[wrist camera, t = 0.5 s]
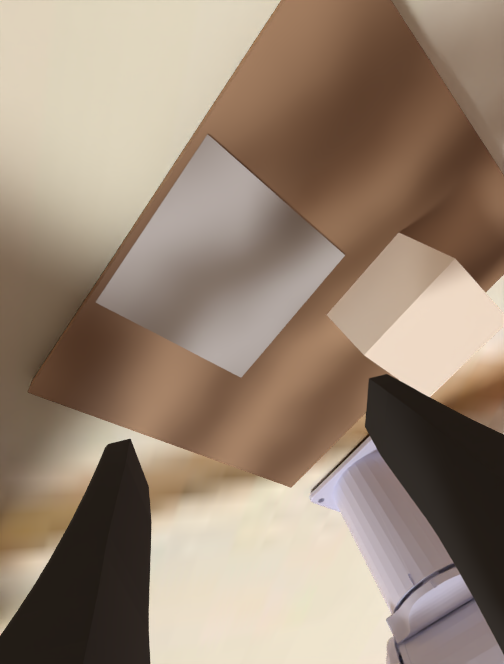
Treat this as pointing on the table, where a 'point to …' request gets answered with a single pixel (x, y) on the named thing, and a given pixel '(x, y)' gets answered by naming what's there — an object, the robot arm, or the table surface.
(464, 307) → the cream cube
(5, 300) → the table surface
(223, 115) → the board
